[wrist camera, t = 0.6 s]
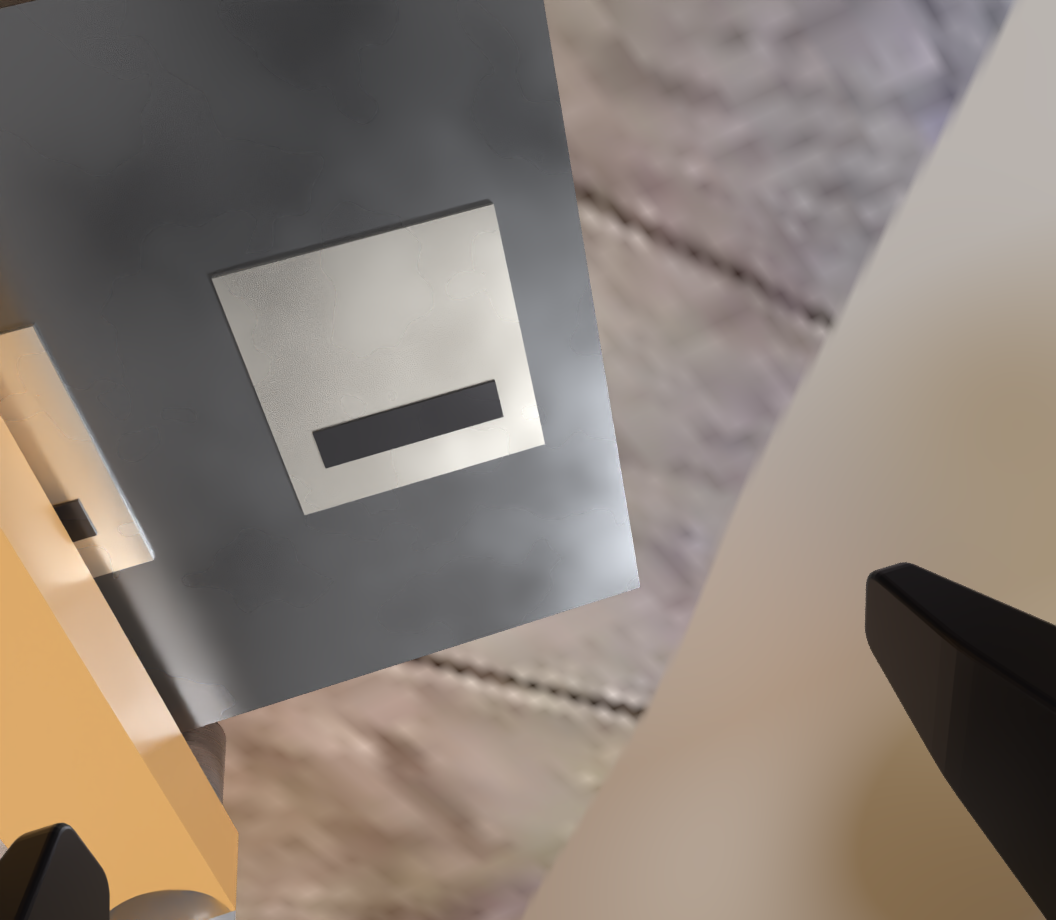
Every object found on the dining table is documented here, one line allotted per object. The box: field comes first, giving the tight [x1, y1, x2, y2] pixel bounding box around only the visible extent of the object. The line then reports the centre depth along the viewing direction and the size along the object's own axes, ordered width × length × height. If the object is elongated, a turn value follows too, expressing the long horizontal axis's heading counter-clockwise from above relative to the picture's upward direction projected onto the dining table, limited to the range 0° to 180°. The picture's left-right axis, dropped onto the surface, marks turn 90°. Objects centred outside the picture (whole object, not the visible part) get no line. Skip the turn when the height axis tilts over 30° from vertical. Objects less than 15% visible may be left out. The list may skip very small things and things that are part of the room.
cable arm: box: [0, 415, 238, 920], centre depth 17 cm, size 17×3×2 cm, turn 10°
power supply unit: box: [0, 0, 640, 804], centre depth 19 cm, size 18×16×3 cm
